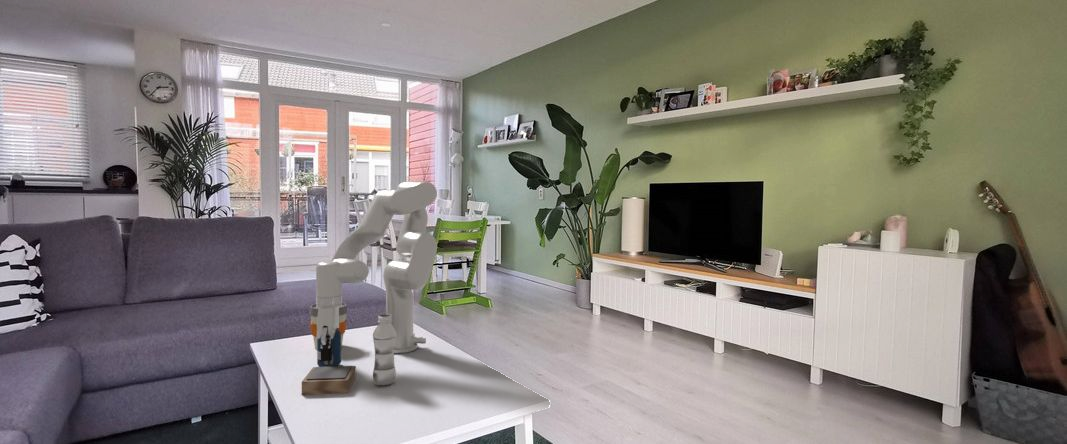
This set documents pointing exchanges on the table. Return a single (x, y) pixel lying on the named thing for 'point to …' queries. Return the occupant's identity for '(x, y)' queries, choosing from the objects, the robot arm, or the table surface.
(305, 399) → the table surface
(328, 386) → the walnut base
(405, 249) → the robot arm
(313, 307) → the reusable coffee cup
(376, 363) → the plastic bottle
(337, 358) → the soda can
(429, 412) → the table surface
